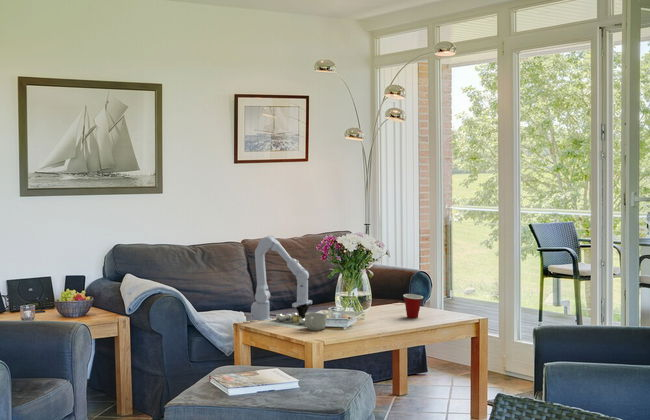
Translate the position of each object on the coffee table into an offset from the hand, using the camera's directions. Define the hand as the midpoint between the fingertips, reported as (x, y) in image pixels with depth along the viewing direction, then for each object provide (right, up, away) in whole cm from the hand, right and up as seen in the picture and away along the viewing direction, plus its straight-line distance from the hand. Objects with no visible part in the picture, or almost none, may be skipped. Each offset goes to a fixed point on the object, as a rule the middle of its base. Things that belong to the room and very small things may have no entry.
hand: (302, 319), depth 445 cm
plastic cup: (+59, -1, +16) cm, 62 cm away
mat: (-5, -1, -7) cm, 9 cm away
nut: (-3, -1, -4) cm, 5 cm away
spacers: (-2, -1, -3) cm, 4 cm away
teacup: (+7, -3, -23) cm, 24 cm away
